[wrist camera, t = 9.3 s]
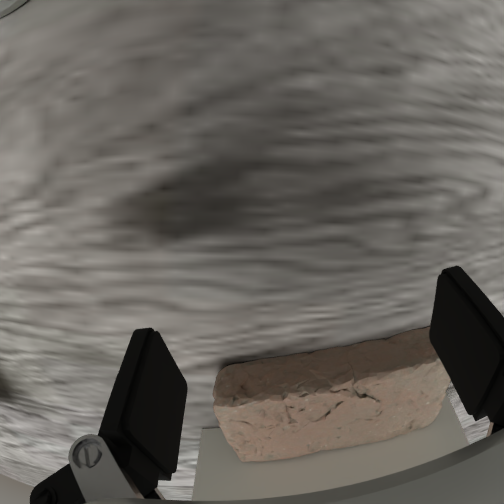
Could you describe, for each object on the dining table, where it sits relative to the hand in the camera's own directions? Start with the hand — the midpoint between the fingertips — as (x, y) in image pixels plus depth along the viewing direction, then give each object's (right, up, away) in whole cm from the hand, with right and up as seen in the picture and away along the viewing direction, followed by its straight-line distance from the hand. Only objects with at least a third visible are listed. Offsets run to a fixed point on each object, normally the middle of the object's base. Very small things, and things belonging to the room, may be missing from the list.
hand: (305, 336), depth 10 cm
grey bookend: (+5, -15, +16) cm, 22 cm away
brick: (+5, -7, +13) cm, 16 cm away
